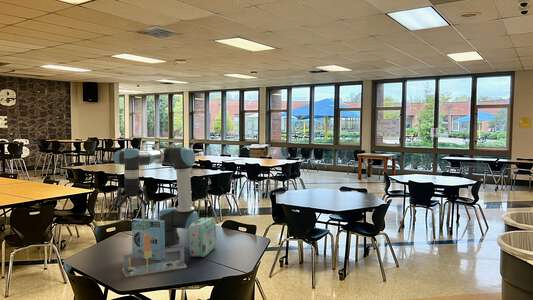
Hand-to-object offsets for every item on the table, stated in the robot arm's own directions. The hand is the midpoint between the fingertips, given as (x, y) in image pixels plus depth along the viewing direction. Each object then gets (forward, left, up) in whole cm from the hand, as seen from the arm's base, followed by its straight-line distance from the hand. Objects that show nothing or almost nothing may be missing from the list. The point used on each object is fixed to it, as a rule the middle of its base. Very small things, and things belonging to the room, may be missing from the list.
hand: (132, 218), depth 215 cm
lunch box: (-13, +44, -28) cm, 54 cm away
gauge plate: (+3, +11, -28) cm, 30 cm away
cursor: (+3, +7, -27) cm, 28 cm away
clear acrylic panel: (+3, +11, -27) cm, 29 cm away
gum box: (-18, +12, -28) cm, 36 cm away
